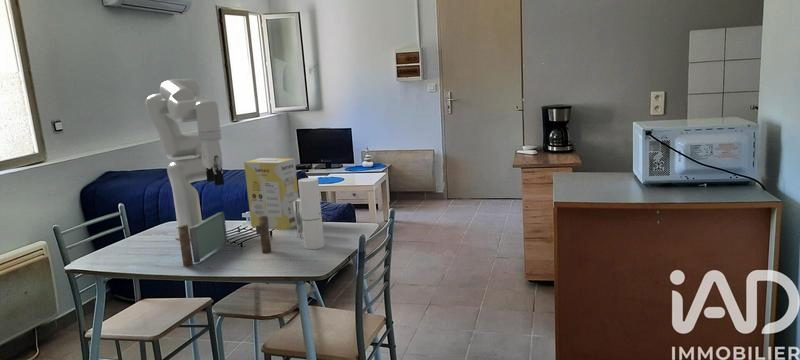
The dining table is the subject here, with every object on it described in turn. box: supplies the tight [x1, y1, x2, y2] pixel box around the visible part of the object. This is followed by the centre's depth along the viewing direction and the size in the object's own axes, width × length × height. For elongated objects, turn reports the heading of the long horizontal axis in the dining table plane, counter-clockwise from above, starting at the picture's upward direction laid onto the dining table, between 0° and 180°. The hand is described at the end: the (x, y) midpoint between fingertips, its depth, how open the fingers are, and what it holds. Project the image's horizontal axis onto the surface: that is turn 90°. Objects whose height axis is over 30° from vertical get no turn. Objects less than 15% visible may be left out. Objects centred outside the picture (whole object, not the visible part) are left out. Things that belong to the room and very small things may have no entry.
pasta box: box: [243, 157, 300, 231], centre depth 243 cm, size 18×10×28 cm, turn 63°
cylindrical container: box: [297, 177, 325, 250], centre depth 209 cm, size 7×7×25 cm
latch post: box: [255, 216, 272, 254], centre depth 207 cm, size 5×4×13 cm
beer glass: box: [293, 197, 304, 240], centre depth 224 cm, size 7×7×15 cm
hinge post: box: [177, 225, 194, 267], centre depth 198 cm, size 3×3×14 cm
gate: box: [189, 211, 228, 264], centre depth 209 cm, size 23×2×12 cm, turn 171°
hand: (215, 182), depth 208 cm, fingers open, 9 cm apart
